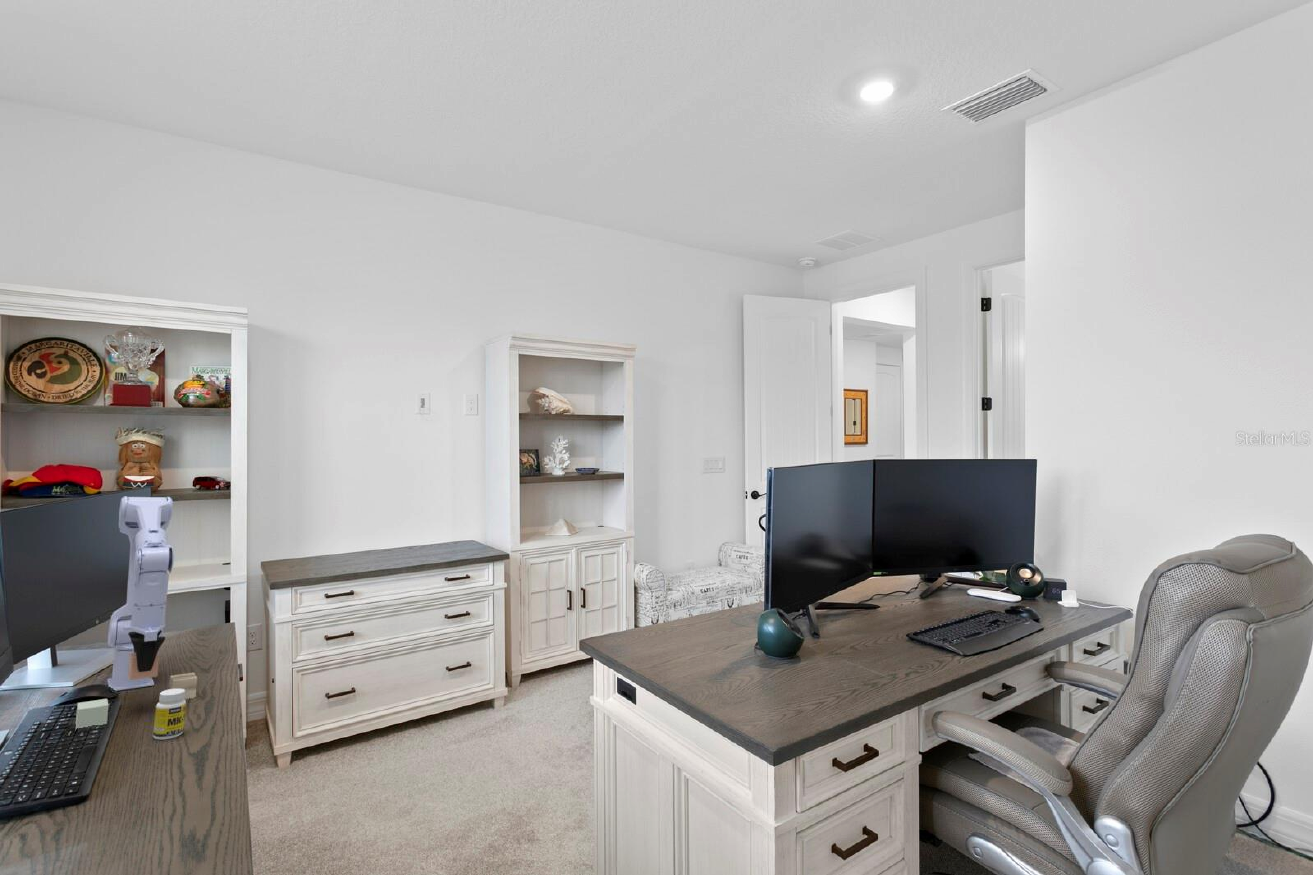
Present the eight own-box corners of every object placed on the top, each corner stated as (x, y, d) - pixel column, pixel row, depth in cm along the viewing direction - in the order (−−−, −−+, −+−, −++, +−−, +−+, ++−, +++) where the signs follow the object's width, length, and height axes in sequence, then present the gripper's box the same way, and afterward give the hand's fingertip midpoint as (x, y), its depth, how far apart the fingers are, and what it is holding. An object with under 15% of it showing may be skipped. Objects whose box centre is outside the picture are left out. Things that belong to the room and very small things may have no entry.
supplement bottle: (166, 741, 124) (170, 697, 125) (146, 738, 125) (150, 694, 126) (189, 732, 129) (193, 689, 129) (169, 729, 130) (173, 686, 130)
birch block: (168, 696, 147) (170, 675, 148) (192, 692, 151) (194, 672, 151) (170, 701, 144) (172, 681, 144) (195, 698, 147) (197, 677, 147)
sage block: (75, 726, 129) (77, 703, 130) (104, 721, 132) (107, 698, 133) (76, 733, 126) (78, 709, 126) (106, 728, 129) (108, 705, 129)
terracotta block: (128, 674, 139) (130, 652, 139) (154, 670, 142) (156, 649, 142) (130, 680, 135) (132, 658, 136) (157, 676, 139) (159, 654, 139)
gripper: (122, 599, 142) (116, 662, 141) (128, 612, 131) (122, 680, 131) (163, 596, 147) (157, 657, 146) (171, 608, 136) (165, 674, 136)
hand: (143, 668), depth 139 cm, fingers closed on terracotta block, 4 cm apart
